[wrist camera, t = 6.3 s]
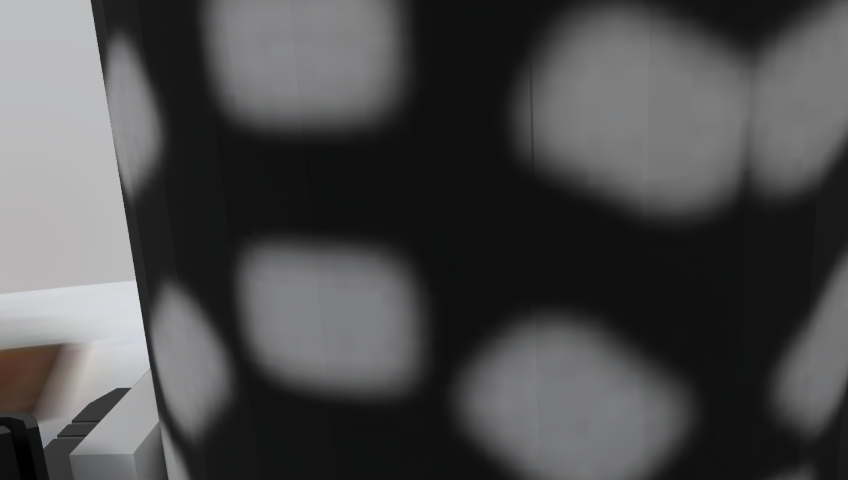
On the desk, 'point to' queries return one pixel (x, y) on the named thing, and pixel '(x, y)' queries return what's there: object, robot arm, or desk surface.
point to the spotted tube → (488, 235)
